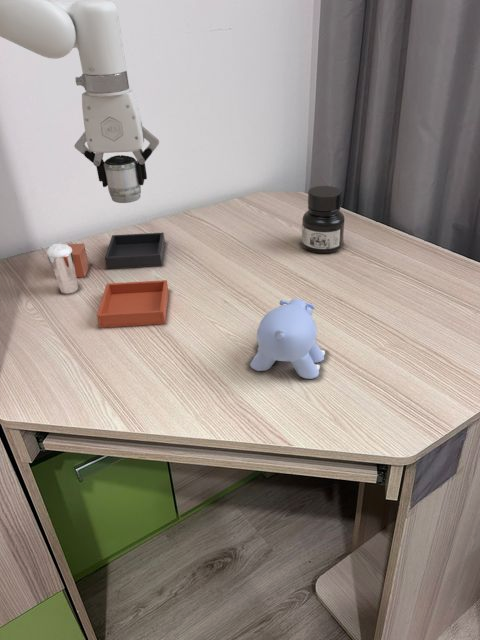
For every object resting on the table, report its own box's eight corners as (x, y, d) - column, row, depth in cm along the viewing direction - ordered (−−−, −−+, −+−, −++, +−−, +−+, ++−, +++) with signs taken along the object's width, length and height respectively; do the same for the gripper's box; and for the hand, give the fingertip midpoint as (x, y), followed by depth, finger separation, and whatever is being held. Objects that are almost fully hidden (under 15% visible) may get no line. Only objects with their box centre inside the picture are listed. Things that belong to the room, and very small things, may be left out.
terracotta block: (59, 278, 107) (53, 255, 104) (64, 266, 111) (58, 244, 108) (84, 276, 108) (79, 254, 105) (89, 265, 112) (84, 243, 109)
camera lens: (129, 205, 104) (122, 164, 99) (103, 201, 106) (95, 160, 102) (148, 195, 108) (142, 155, 104) (123, 190, 111) (116, 151, 106)
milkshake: (48, 291, 103) (34, 243, 97) (73, 281, 106) (61, 234, 100) (61, 299, 100) (47, 250, 95) (86, 289, 104) (74, 241, 98)
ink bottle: (294, 250, 116) (295, 195, 109) (307, 234, 122) (309, 181, 115) (338, 257, 113) (341, 201, 105) (349, 240, 119) (353, 187, 112)
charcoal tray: (106, 269, 110) (104, 258, 109) (114, 245, 119) (112, 235, 118) (161, 266, 111) (160, 255, 109) (165, 242, 120) (163, 232, 118)
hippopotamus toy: (332, 333, 90) (335, 283, 84) (314, 390, 78) (316, 336, 73) (269, 325, 92) (269, 275, 87) (243, 378, 81) (240, 325, 75)
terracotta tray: (99, 327, 93) (96, 315, 91) (109, 295, 102) (106, 283, 100) (165, 323, 93) (163, 311, 92) (168, 291, 102) (167, 280, 101)
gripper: (52, 89, 92) (75, 192, 102) (154, 85, 93) (167, 188, 103) (61, 81, 98) (82, 179, 108) (157, 77, 99) (169, 175, 109)
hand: (123, 183), depth 106 cm, fingers closed on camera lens, 6 cm apart
